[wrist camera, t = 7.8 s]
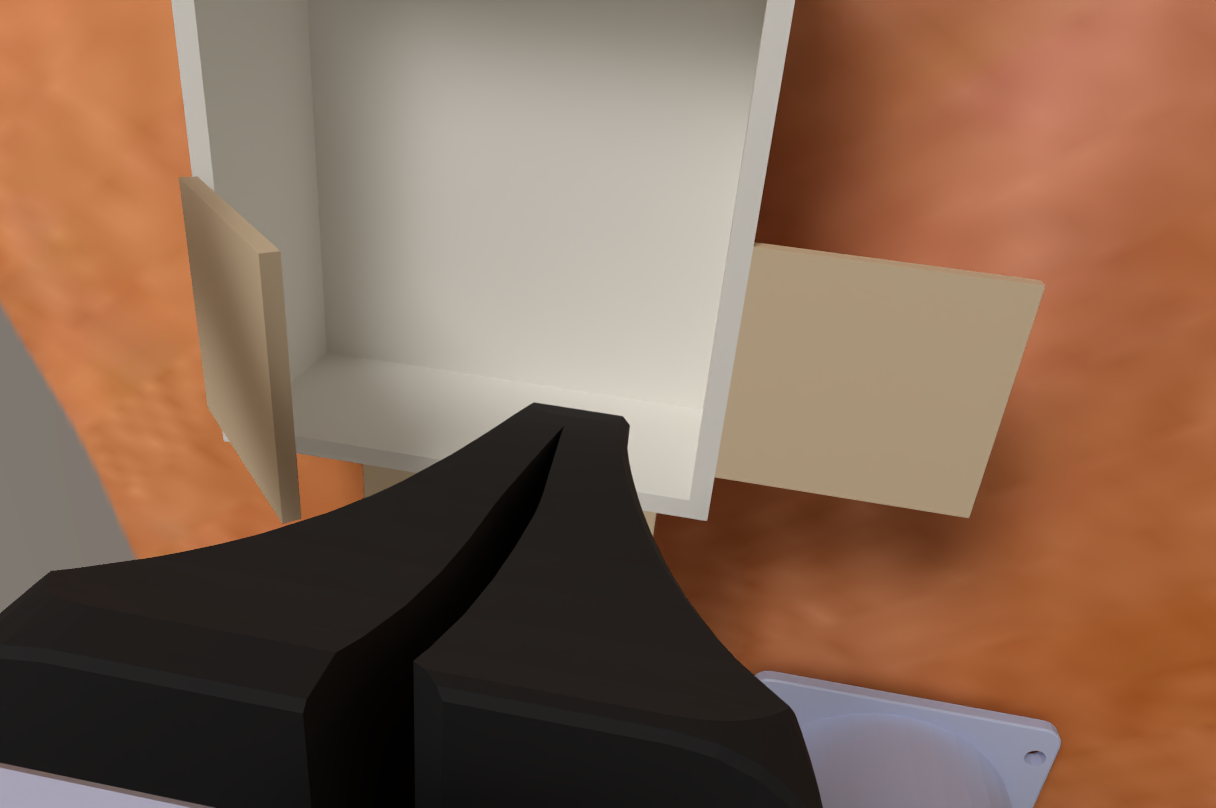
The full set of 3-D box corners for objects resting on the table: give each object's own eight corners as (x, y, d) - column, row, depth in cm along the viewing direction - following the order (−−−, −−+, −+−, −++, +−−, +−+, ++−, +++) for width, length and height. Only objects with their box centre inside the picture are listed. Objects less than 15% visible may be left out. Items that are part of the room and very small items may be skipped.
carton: (875, 605, 23) (898, 734, 19) (326, 510, 24) (244, 612, 20) (1093, -154, 15) (1203, -196, 11) (281, -221, 17) (138, -280, 13)
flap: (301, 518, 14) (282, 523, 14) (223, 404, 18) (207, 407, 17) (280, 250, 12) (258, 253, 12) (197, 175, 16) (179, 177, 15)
